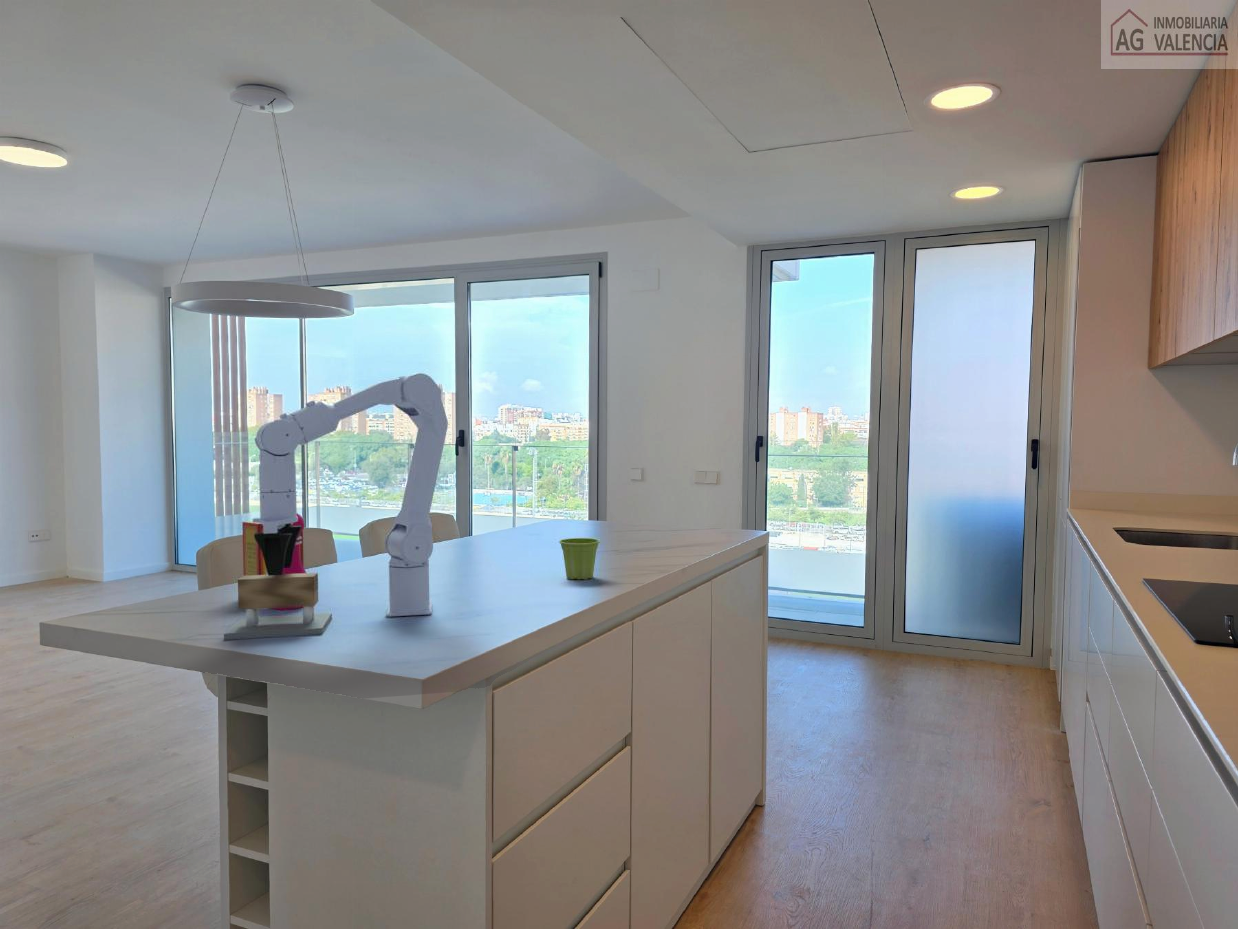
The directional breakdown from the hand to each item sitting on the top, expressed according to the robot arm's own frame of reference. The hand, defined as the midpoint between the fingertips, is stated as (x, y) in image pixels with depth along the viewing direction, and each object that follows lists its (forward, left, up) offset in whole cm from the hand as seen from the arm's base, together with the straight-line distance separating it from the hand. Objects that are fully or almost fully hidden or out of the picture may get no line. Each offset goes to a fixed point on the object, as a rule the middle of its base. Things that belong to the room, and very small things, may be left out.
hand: (279, 571), depth 135 cm
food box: (-31, -7, -10) cm, 33 cm away
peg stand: (0, 0, -10) cm, 10 cm away
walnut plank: (0, 0, -6) cm, 6 cm away
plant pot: (-36, +58, -10) cm, 69 cm away
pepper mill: (-19, -2, -10) cm, 22 cm away
